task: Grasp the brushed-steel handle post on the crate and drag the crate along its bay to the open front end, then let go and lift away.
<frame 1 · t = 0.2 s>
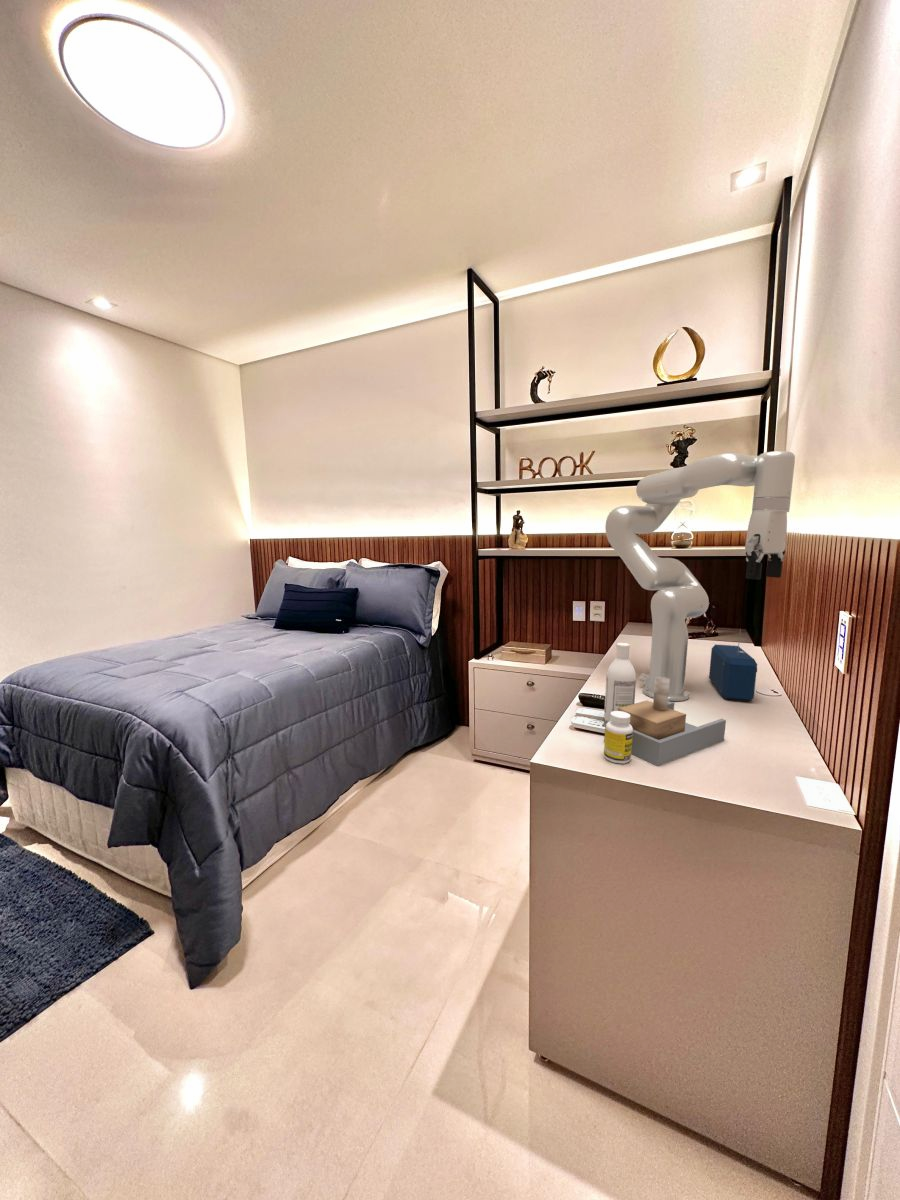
hand: (763, 578, 121), 37 cm above the table, tool pointing down, fingers open, 9 cm apart
supplement bottle: (617, 759, 106), on the table
crate: (651, 711, 111), point 8 cm above the table, slide at 0.0 cm
bay: (664, 740, 115), on the table
bath foam: (618, 722, 126), on the table
radio: (730, 691, 151), on the table
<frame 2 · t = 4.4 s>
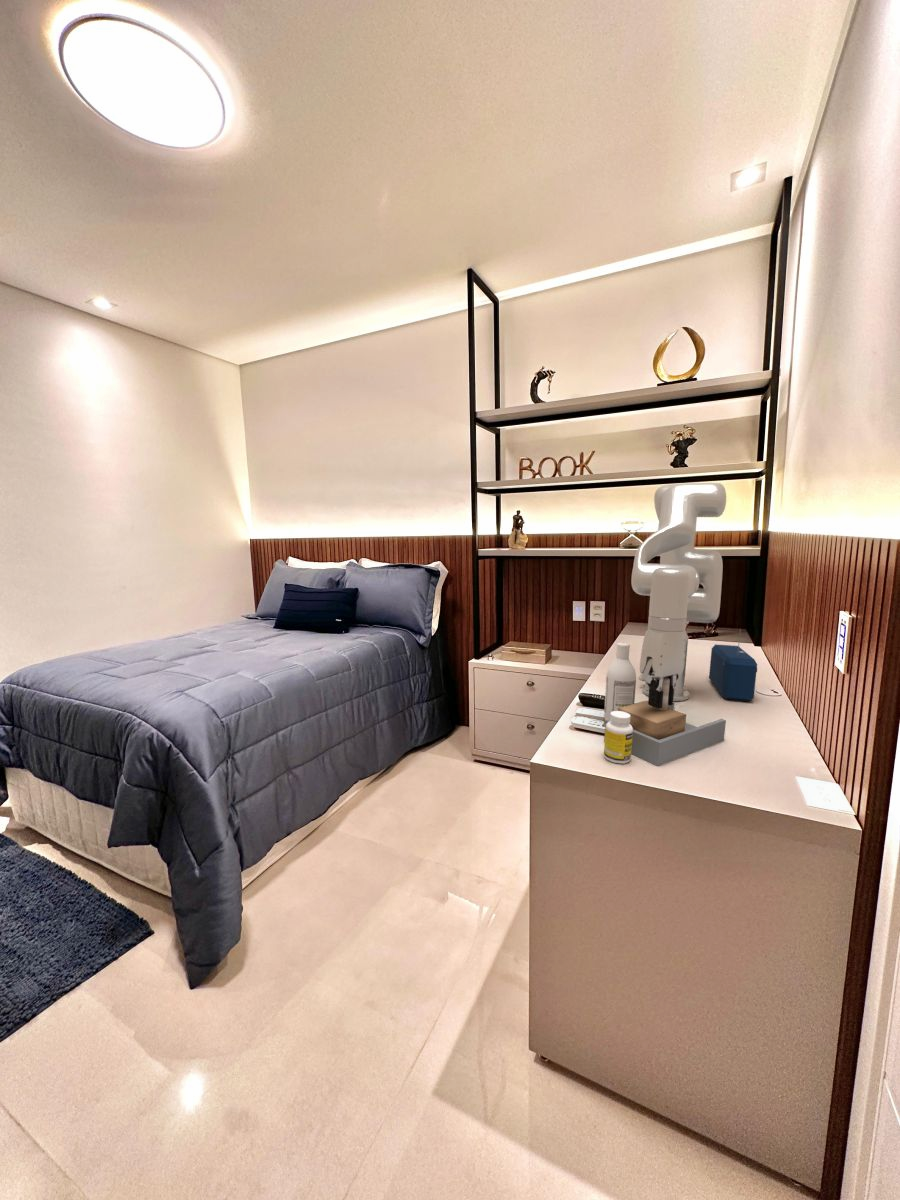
hand: (660, 704, 112), 9 cm above the table, tool pointing down, fingers closed on crate, 3 cm apart
crate: (651, 711, 111), point 8 cm above the table, slide at 0.0 cm, touching gripper
everything else where it was.
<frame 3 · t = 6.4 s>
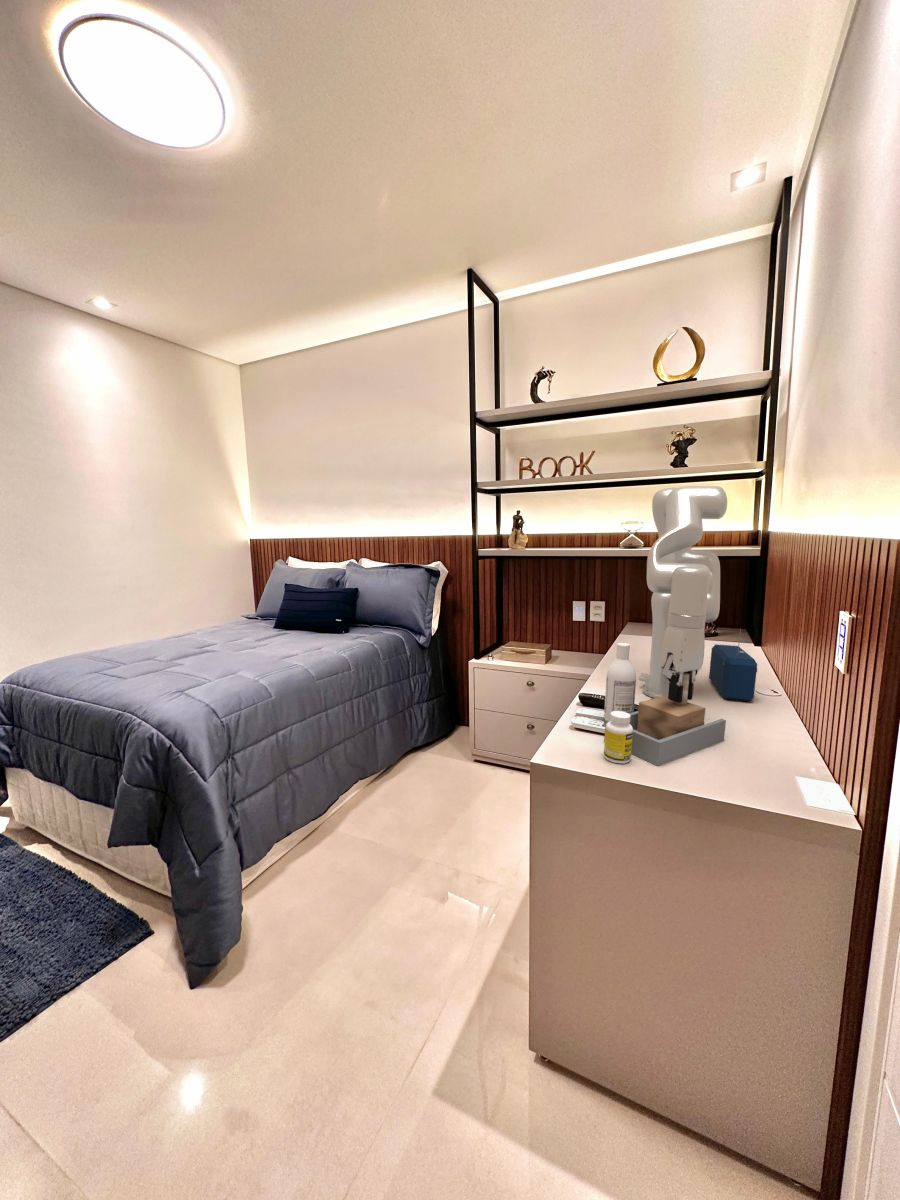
hand: (680, 698, 116), 9 cm above the table, tool pointing down, fingers closed on crate, 3 cm apart
crate: (671, 705, 115), point 8 cm above the table, slide at 7.3 cm, touching gripper
everything else where it was.
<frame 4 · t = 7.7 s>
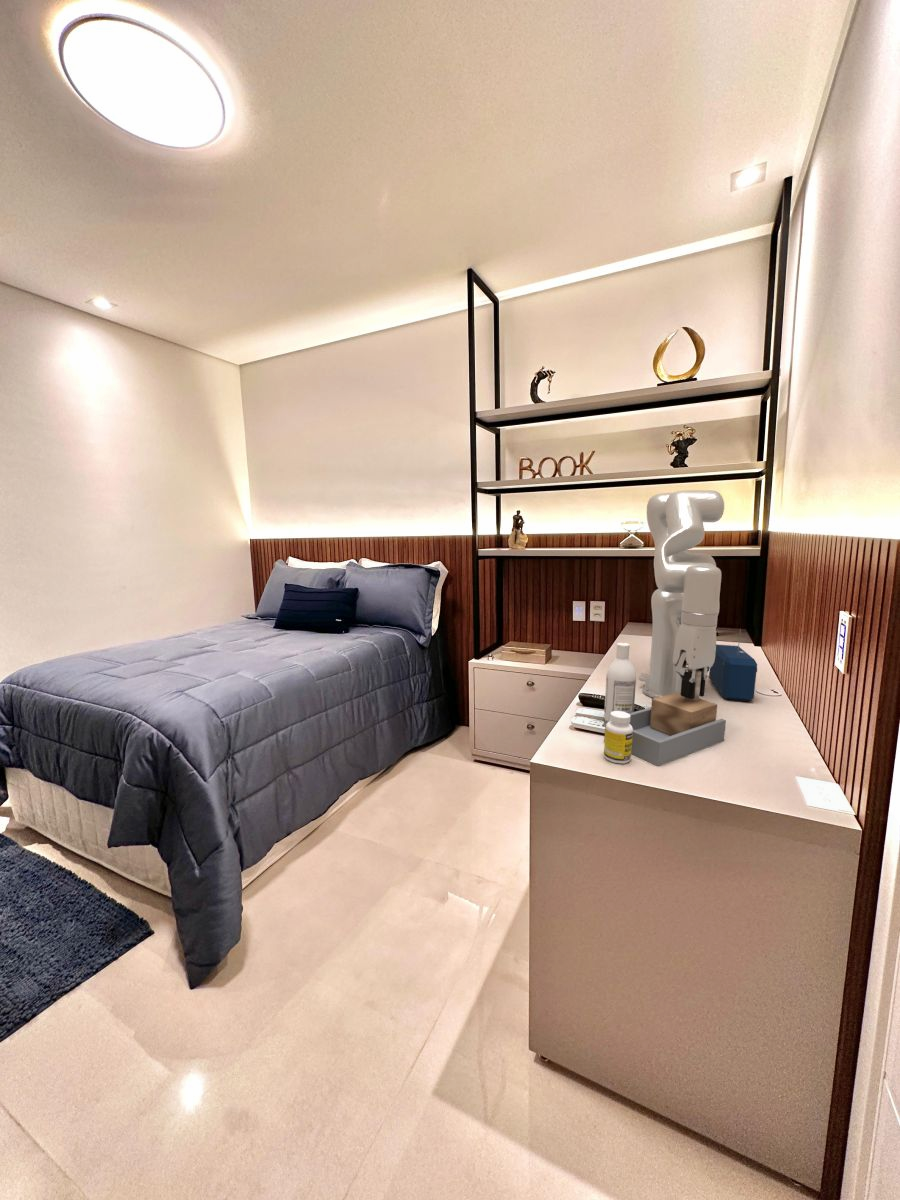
hand: (692, 695, 119), 9 cm above the table, tool pointing down, fingers closed on crate, 3 cm apart
crate: (684, 701, 117), point 8 cm above the table, slide at 12.0 cm, touching gripper
everything else where it was.
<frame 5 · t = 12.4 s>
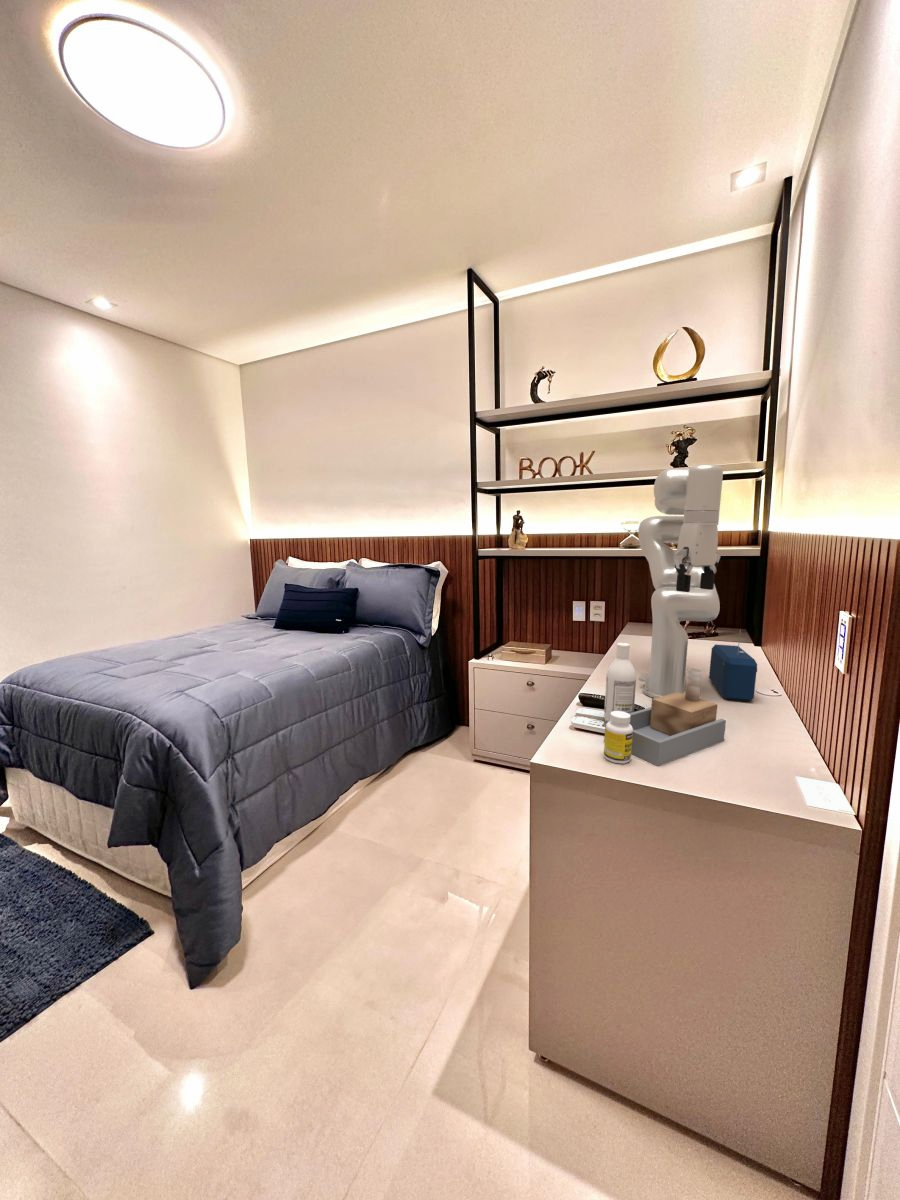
hand: (694, 590, 122), 33 cm above the table, tool pointing down, fingers open, 9 cm apart
crate: (684, 701, 117), point 8 cm above the table, slide at 12.0 cm
everything else where it was.
at the end: crate slide at 12.0 cm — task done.
